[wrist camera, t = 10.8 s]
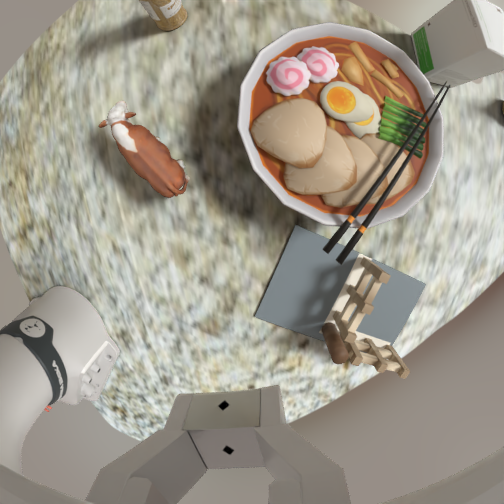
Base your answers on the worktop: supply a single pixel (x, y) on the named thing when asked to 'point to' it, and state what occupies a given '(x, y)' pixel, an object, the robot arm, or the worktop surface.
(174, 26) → the spice jar
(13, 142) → the worktop surface
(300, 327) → the card
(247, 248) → the worktop surface
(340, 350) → the corner post
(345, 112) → the ramen bowl
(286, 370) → the worktop surface
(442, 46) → the skincare box
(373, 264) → the gate panel
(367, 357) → the fixed fence panel
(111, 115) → the bull figurine
